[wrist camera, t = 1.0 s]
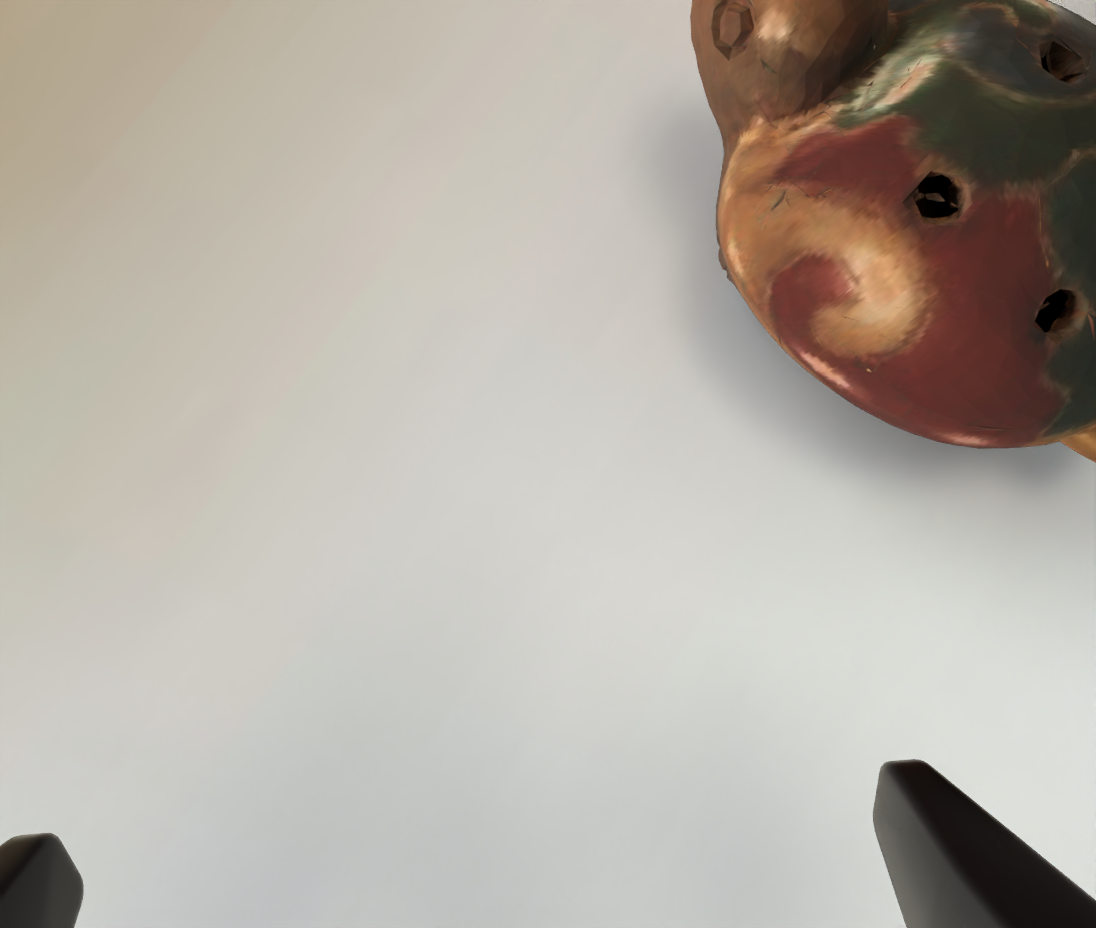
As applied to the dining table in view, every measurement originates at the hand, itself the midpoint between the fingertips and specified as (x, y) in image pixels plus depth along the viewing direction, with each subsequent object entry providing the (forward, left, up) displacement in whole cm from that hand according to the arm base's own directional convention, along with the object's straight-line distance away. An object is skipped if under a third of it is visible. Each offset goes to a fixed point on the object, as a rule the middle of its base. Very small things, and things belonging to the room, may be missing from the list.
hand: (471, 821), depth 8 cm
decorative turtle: (+2, -14, -13) cm, 19 cm away
